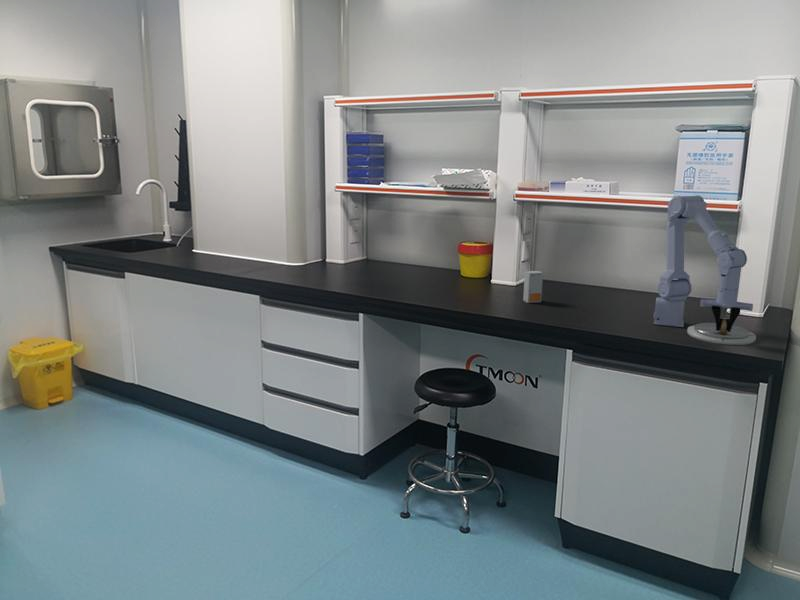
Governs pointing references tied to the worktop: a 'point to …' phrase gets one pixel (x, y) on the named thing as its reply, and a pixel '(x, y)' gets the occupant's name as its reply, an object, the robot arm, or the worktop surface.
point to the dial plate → (741, 341)
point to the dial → (721, 330)
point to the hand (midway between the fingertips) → (723, 330)
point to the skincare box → (533, 286)
